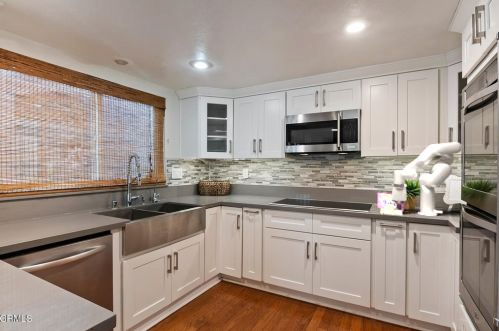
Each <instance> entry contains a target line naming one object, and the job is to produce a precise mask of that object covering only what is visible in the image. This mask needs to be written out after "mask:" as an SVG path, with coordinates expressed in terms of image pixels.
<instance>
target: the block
mask: <svg viewBox="0 0 499 331" xmlns="http://www.w3.org/2000/svg"><path fill="white" fill-rule="evenodd" d="M388 210H394V205H392V204H388Z"/></svg>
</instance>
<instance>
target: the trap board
mask: <svg viewBox="0 0 499 331" xmlns="http://www.w3.org/2000/svg"><path fill="white" fill-rule="evenodd" d="M379 210H380V214H383V213H384V214H385V215H397V216H403V211H402V209H400V210H398V209H397V208H394V210H388V208H384V207H382V208H380V209H379Z"/></svg>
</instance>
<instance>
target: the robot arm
mask: <svg viewBox="0 0 499 331" xmlns="http://www.w3.org/2000/svg"><path fill="white" fill-rule="evenodd" d="M461 145H462V143H460V142H458V141H453V142H452V141H451V142H446V143H445V142H444V143H433V144H429V145H428V146H427V147H426V148H425V149H424V150H423V151H422V152H421V153H420V154H419V155H418V157H417V158H415V159H413V160H412V161H411V162H410V163H408V164H407V165H406V166H404V167H405V168H403V170H398V169H397V170H394V171H393V187H392V190H391V193H392V200H391V201H393V202H395V203H396V204H397V208H398V210H400V209H401V204H403V203H404V204H405V203H408V201H407V197H408V195H407V194H408V193H407V187H408V185H407V184H406V180H408V181H414V180H416V179H417V178H418V173H417V172H416V171H418V170H419V169H421V168H423V167H427V166H428V165H429V164H430V162H431V161H432V160H433V159H434V158H435V157H436V156H440V155H441V156H440V157H439V158H438V160H436V162H435V163H434V164H433V165H432V166H431V167H430V169H429V171H430V173H425V174H422V175H420V176H419V179H418V183H419V191H420V192H419V193H420V196H419V197H420V198H419V200H420V202H419V203H420V204H419V206H420V208H419V211H418V212H417V214H418V215H420V216H426V217H436V216H438V214H443V210H436V190H435V188H437V187H440V186H441V185H442V184H443V183H444V182H445V181H447V179H448V178H449V177H450V176H451V174H452V173H453V169H452V168H453V167H452V166H451V165H452V164H453V163H454V159H455V157H454V154H459V153H460V152H461V151H462V150H461ZM395 200H396V201H395ZM398 201H400V204H399V203H398Z"/></svg>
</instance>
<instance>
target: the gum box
mask: <svg viewBox="0 0 499 331" xmlns="http://www.w3.org/2000/svg"><path fill="white" fill-rule="evenodd" d="M391 200H392V192H385V191H384V192H377V208H379V209H381V208H382V207H384V208H388V204H392V205H394V208H397V204H396V203H395V202H393V201H391ZM395 201H396V200H395ZM398 203H399V204H400V201H398ZM397 209H398V208H397ZM401 209H402V212H405V203H403V204H401Z"/></svg>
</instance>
